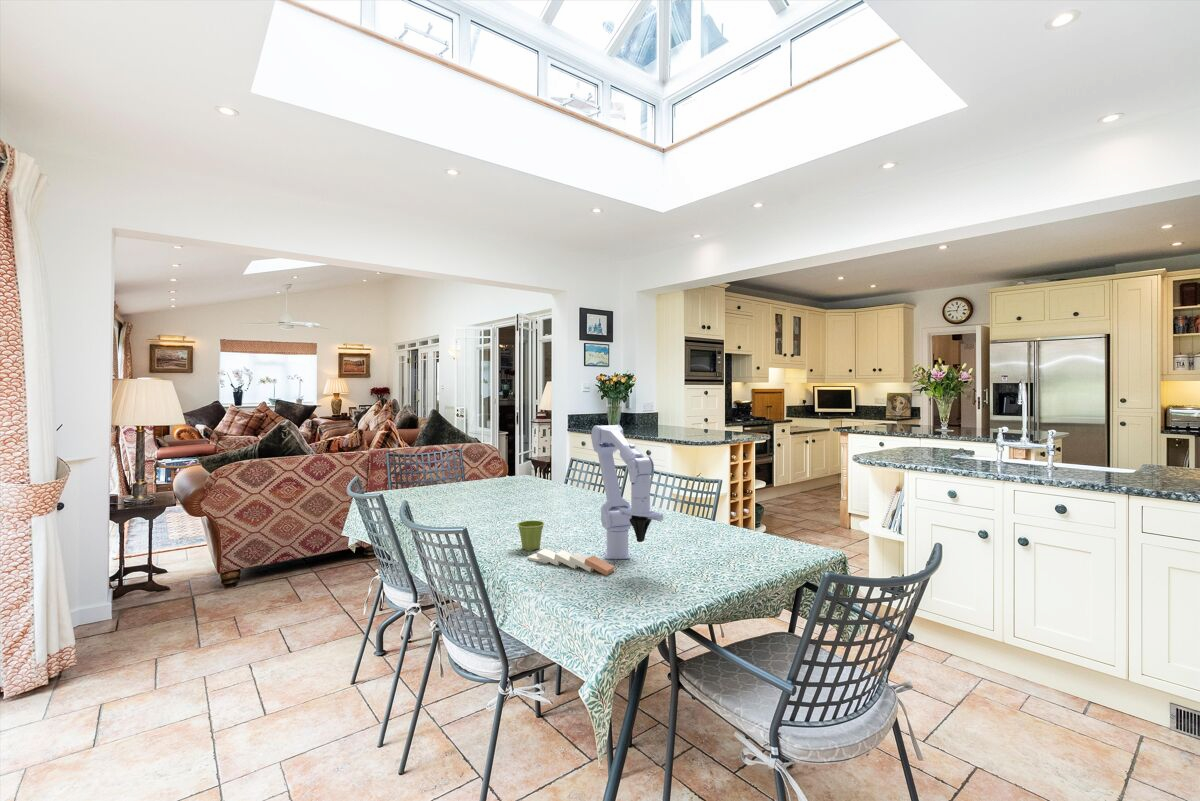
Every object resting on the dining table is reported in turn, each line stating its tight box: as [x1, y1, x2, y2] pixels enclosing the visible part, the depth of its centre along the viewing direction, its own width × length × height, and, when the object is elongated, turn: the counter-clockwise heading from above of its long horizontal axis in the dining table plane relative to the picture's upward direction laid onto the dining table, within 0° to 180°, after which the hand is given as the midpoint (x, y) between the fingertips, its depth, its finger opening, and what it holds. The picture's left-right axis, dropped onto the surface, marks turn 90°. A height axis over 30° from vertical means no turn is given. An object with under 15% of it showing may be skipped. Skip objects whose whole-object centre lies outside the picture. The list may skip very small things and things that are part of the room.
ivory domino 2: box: [537, 548, 563, 566], centre depth 172 cm, size 2×4×8 cm
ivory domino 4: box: [569, 552, 595, 573], centre depth 167 cm, size 2×4×8 cm
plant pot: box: [517, 519, 545, 551], centre depth 187 cm, size 9×9×9 cm
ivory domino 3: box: [554, 549, 579, 570], centre depth 169 cm, size 2×4×8 cm
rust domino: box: [584, 555, 616, 576], centre depth 164 cm, size 2×4×8 cm
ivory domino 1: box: [526, 553, 550, 564], centre depth 175 cm, size 2×4×8 cm
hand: (640, 541), depth 164 cm, fingers closed
